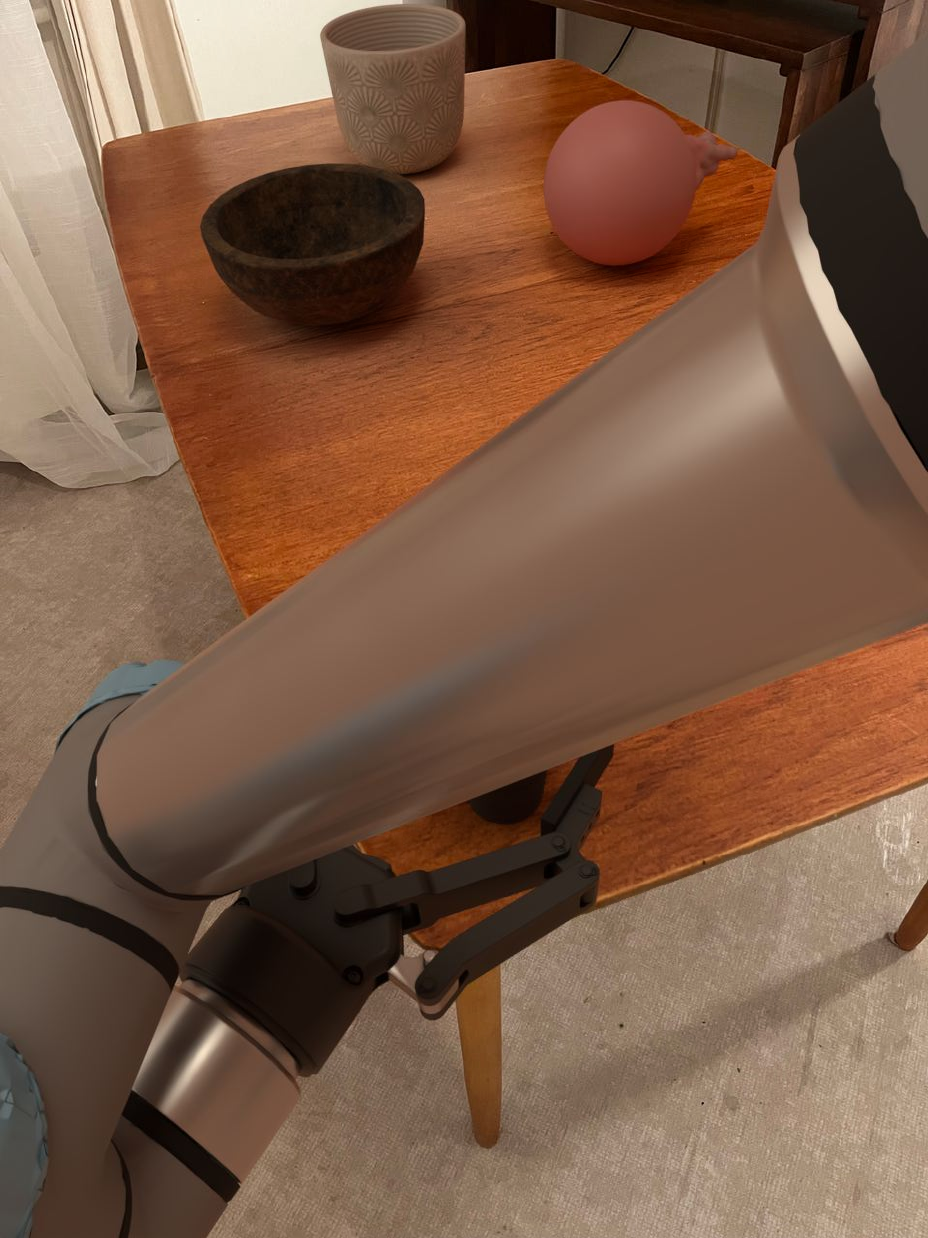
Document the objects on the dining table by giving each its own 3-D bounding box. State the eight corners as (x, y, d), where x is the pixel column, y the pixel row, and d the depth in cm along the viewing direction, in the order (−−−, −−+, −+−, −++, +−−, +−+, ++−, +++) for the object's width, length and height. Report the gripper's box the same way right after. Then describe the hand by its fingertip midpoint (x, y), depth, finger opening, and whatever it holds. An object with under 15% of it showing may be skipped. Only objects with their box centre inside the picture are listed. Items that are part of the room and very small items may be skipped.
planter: (326, 146, 129) (306, 16, 118) (449, 124, 132) (441, -5, 121) (355, 199, 118) (337, 61, 107) (489, 174, 121) (484, 37, 110)
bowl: (397, 237, 111) (387, 147, 104) (462, 333, 97) (456, 236, 90) (207, 279, 107) (183, 188, 100) (246, 385, 93) (222, 288, 85)
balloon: (749, 278, 101) (776, 123, 90) (558, 301, 100) (562, 146, 89) (704, 211, 112) (723, 64, 100) (531, 231, 110) (531, 84, 99)
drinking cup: (446, 740, 64) (421, 511, 49) (563, 740, 64) (573, 509, 49) (440, 844, 59) (409, 624, 44) (567, 846, 59) (579, 623, 44)
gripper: (67, 927, 49) (323, 646, 61) (494, 1227, 39) (702, 825, 51) (7, 853, 44) (302, 560, 55) (487, 1181, 34) (722, 742, 46)
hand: (495, 687), depth 53 cm, fingers open, 13 cm apart
